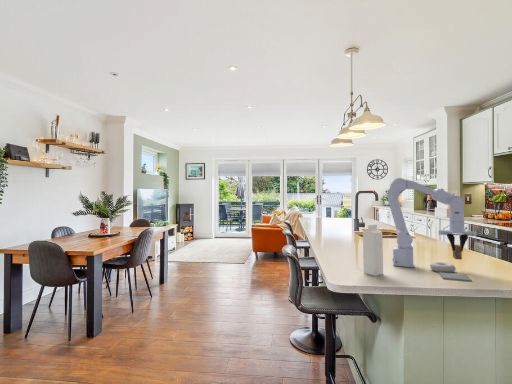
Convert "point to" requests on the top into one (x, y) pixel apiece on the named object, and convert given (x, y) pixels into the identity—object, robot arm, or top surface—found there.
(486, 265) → the top surface
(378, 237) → the milk
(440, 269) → the donut
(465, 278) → the mat
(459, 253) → the tall brown wooden block
